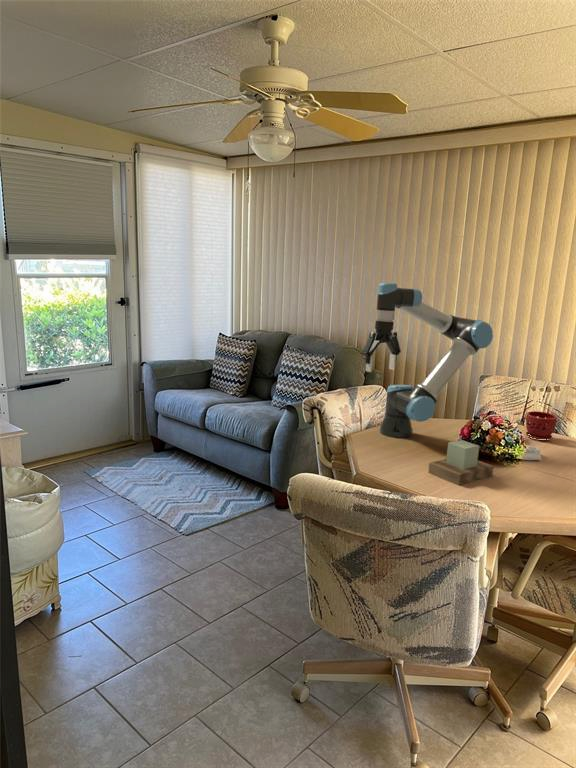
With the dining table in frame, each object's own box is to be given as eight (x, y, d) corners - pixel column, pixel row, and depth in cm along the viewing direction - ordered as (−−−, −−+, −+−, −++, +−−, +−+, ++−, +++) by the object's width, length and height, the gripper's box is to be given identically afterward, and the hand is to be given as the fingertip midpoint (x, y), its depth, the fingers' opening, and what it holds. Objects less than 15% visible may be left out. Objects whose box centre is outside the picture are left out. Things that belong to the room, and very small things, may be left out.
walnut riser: (461, 464, 228) (463, 455, 227) (492, 475, 216) (493, 465, 216) (428, 472, 216) (429, 462, 215) (458, 485, 205) (459, 474, 204)
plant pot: (520, 433, 278) (523, 409, 276) (548, 436, 277) (552, 412, 274) (527, 441, 266) (531, 416, 263) (557, 444, 264) (560, 419, 262)
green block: (459, 459, 221) (462, 439, 219) (476, 466, 214) (479, 445, 213) (445, 462, 216) (448, 442, 215) (463, 469, 210) (465, 448, 208)
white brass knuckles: (506, 461, 236) (492, 450, 250) (548, 462, 237) (531, 451, 251) (507, 453, 235) (493, 443, 249) (549, 455, 236) (532, 444, 250)
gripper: (399, 319, 247) (394, 367, 252) (356, 319, 233) (352, 370, 237) (412, 321, 241) (407, 370, 246) (369, 321, 227) (364, 373, 231)
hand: (380, 370), depth 241 cm, fingers open, 13 cm apart
